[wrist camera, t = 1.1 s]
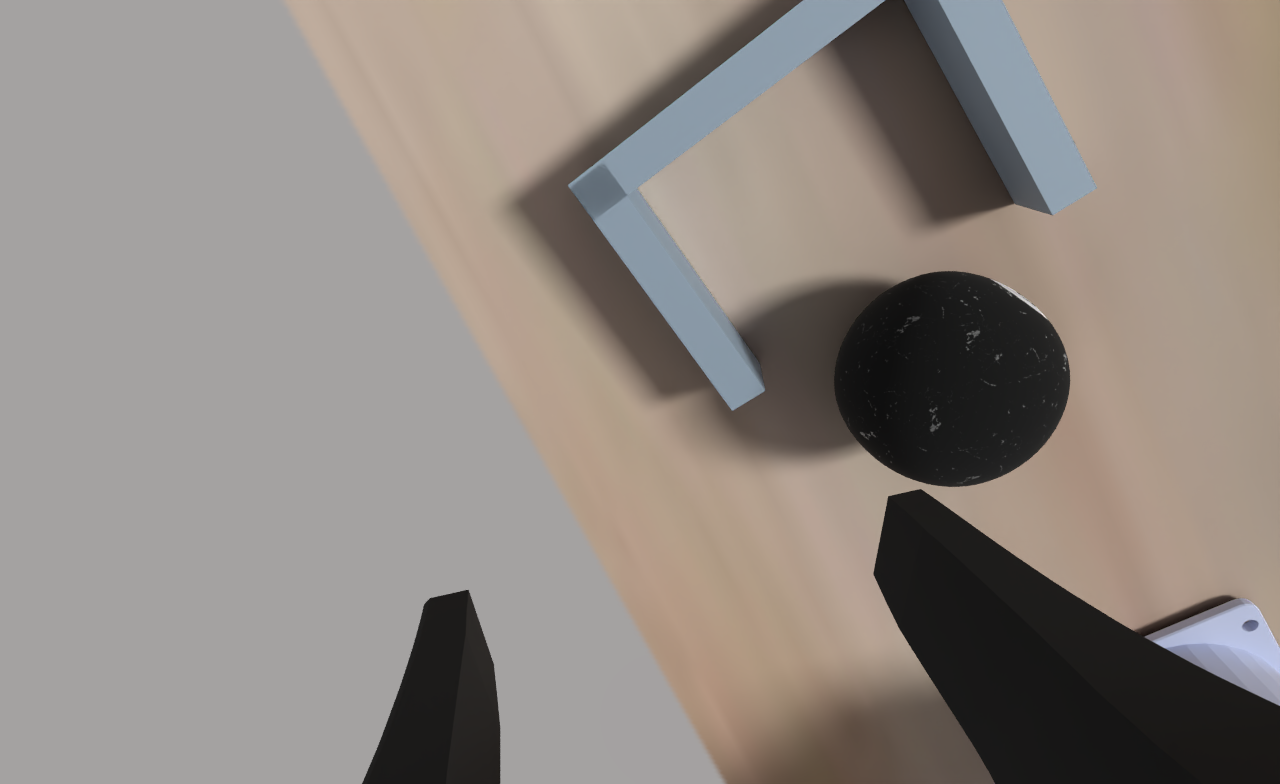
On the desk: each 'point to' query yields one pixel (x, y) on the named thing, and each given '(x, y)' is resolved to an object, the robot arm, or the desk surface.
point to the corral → (940, 4)
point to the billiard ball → (952, 379)
